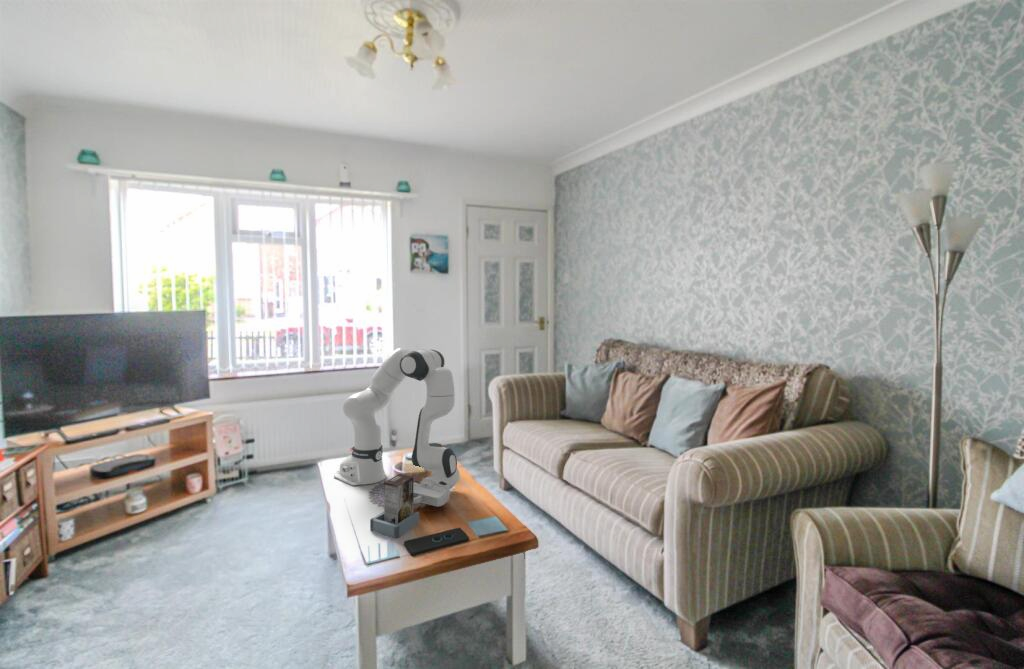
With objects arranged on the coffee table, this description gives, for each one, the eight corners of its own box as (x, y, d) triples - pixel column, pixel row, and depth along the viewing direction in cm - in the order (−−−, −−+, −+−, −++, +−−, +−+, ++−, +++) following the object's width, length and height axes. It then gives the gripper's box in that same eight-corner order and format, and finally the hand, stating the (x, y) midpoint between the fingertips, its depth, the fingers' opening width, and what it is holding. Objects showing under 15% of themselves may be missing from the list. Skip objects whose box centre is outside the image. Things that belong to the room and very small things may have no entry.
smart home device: (469, 537, 161) (411, 553, 151) (469, 542, 161) (411, 558, 151) (459, 526, 168) (403, 540, 158) (459, 531, 168) (403, 545, 158)
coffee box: (399, 515, 178) (399, 473, 176) (414, 519, 175) (414, 476, 173) (383, 526, 169) (383, 481, 168) (398, 530, 167) (398, 485, 165)
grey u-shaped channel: (370, 530, 167) (370, 519, 166) (393, 515, 177) (393, 505, 177) (396, 538, 162) (396, 527, 161) (419, 523, 173) (419, 512, 172)
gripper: (409, 475, 192) (385, 488, 180) (453, 485, 183) (431, 499, 171) (409, 490, 193) (385, 504, 180) (452, 501, 184) (431, 516, 171)
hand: (408, 502), depth 175 cm, fingers closed, pressing on coffee box
